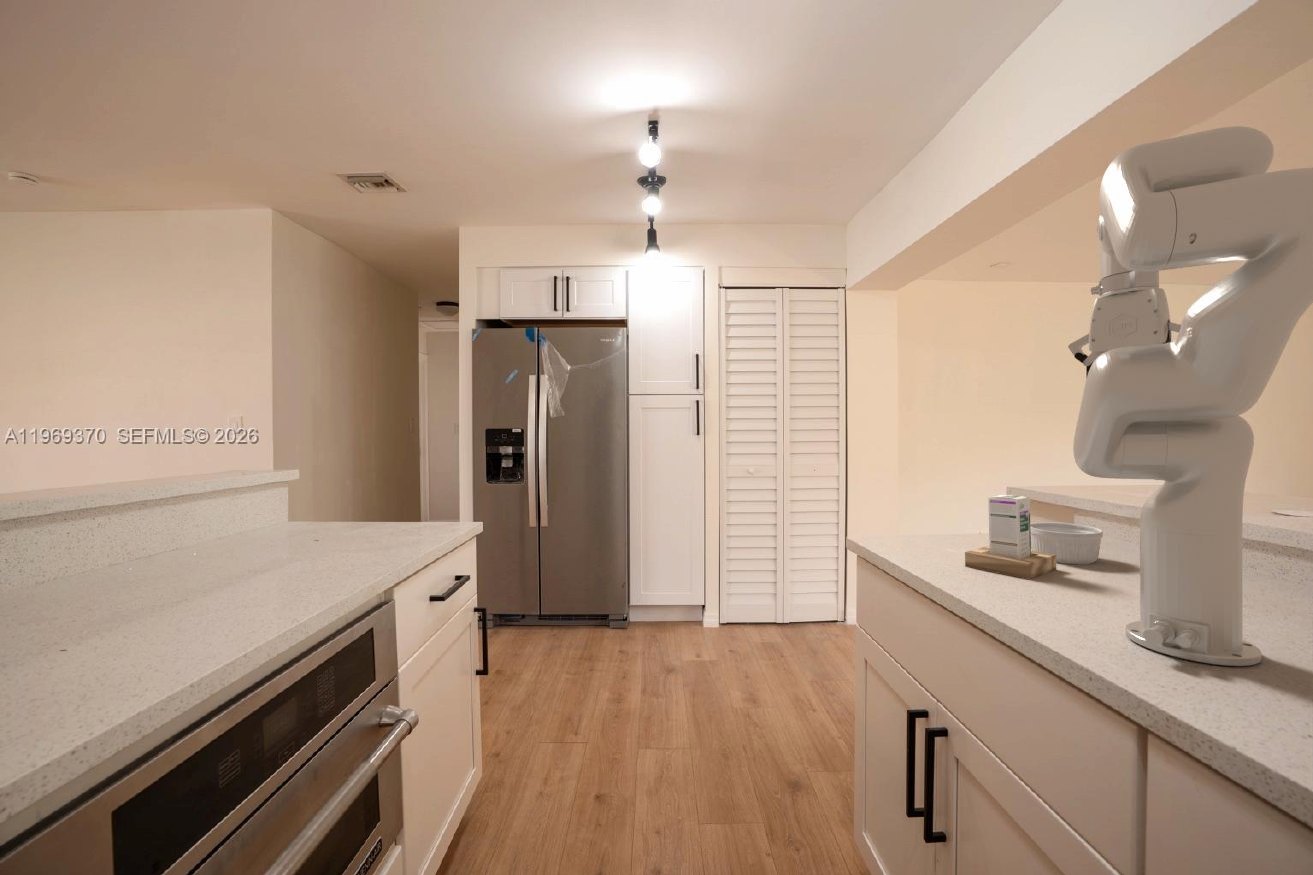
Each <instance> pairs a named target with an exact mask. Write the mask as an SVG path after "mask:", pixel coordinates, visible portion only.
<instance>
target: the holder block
mask: <svg viewBox="0 0 1313 875" xmlns="http://www.w3.org/2000/svg"><path fill="white" fill-rule="evenodd" d="M967 566H969V567H968V568H973V569H977V570H983V571H987V572H992V573H996V572H998V574H1002V575H1007V576H1012V577H1018V578H1022V579H1027V580H1031V579H1034V578H1037V577H1039V576H1042V575H1045V574H1048V573H1051V572H1053V571H1056V570H1057V562H1056V555H1054V554H1048V553H1042V552H1035V551H1032V550H1031V557H1029V558H1026V559H1023V560H1020V559H1015V558H1009V557H1003V556H998V555H992V554H990V545H987V546H984V547H979V548H976V549H972V550H967V551H964V567H967Z"/></svg>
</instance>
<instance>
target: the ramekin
mask: <svg viewBox="0 0 1313 875" xmlns="http://www.w3.org/2000/svg"><path fill="white" fill-rule="evenodd" d="M1030 528H1031V551H1035V552H1042V553H1048V554H1054V555H1056V563H1061V564H1067V565H1069V564H1070V565H1089V564H1094V563H1095V562H1096V561H1097V560H1098V559H1099V555H1100V549H1101V543H1102V538H1103V537H1104V536H1103V535H1104V534H1103V531H1102V530H1103V529H1100V528H1098V527H1093V526H1089V525H1082V524H1074V523H1065V522H1050V521H1049V522H1046V521H1045V522H1030Z"/></svg>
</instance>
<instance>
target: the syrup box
mask: <svg viewBox="0 0 1313 875" xmlns="http://www.w3.org/2000/svg"><path fill="white" fill-rule="evenodd" d="M1030 499H1031V498H1030V496H1026V495H1025V496H1024V495H1017V494H999V495H996V496H989V497H988V498H987V500H988V533H989V534H988V536H989V541H988V542H989V546H990V554H992V555H998V556H1003V557H1009V558H1015V559H1020V560H1023V559H1026V558H1029V557H1031V551H1032V550H1031V528H1030V524H1031V506H1030V505H1031V504H1030Z"/></svg>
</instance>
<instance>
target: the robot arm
mask: <svg viewBox="0 0 1313 875" xmlns="http://www.w3.org/2000/svg"><path fill="white" fill-rule="evenodd" d="M1274 153H1275V151H1274V144H1273V142H1272V140H1271V139H1270V137H1269V136H1268V135H1267V134H1265V133H1264V132H1263V131H1261V130H1259V129H1257V128H1253V127H1249V126H1241V125H1239V126H1238V125H1235V126H1227V127H1226V126H1225V127H1218V128H1212V129H1208V130H1202V131H1198V132H1194V133H1189V134H1184V135H1180V136H1175V137H1169V138H1165V139H1160V140H1156V141H1155V140H1154V141H1152V142H1146V143H1142V144H1139V145H1134V146H1131V147H1129V148H1128V149H1126V150H1124V151H1122V152H1121V153H1119V154H1118V155H1117V156H1116V157H1115V158H1114V159H1113V160H1112V161H1111V162H1110V164H1109V165H1108V167H1107V169H1106V170H1105V172H1104V174H1103V177H1102V179H1101V182H1100V187H1099V208H1100V209H1099V210H1100V213H1101V214H1100V215H1099V217H1098V221H1097V227H1096V228H1097V229H1096V232H1097V238H1098V240H1099V242H1100V280H1099V281H1098V282H1099V284H1098V285H1096V286H1093V287H1091V288H1090V294H1091V295H1099V297H1098V298H1095V299H1094V301H1093V306H1092V310H1091V316H1090V323H1089V332H1088V333H1087V334H1085V335H1083V336H1082V337H1080V338H1078V339H1077V340H1075V341H1073V342H1071V343H1069V344H1068V346H1067V348H1068V349H1069V351H1070V352H1071V354H1072V355H1073V357H1074V359H1076V360H1077V361H1079V362H1080V363H1081V364H1083V366H1084V367H1086V370H1085V371H1086V374H1085V375H1086V377H1085V378H1086V380H1085V383H1084V389H1083V394H1082V398H1081V403H1080V407H1079V411H1078V412H1079V413H1078V415H1077V416H1078V418H1077V421H1076V427H1075V431H1074V438H1073V448H1072V449H1073V450H1072V451H1073V457H1074V461H1075V462H1074V463H1076V465H1077V467H1078V468H1079V469H1080V470H1081V472H1083V473H1084V474H1086V475H1088V476H1090V477H1094V478H1098V479H1121V480H1122V479H1123V480H1125V479H1126V480H1155V481H1164V483H1163V484H1162V485H1161V486H1160V487H1159V488H1157V489H1156V490H1155V491H1154V492H1153V493H1152V494H1151V495H1150V496H1149V497H1148V498H1147V499H1146V500H1145V502H1144V503H1143V505H1142V507H1141V509H1140V513H1139V514H1140V515H1139V580H1140V581H1139V582H1140V584H1139V586H1140V587H1139V590H1140V591H1139V594H1140V596H1139V597H1140V598H1139V602H1140V604H1139V605H1140V606H1139V607H1140V609H1139V610H1140V611H1139V612H1140V614H1139V616H1140V617H1139V618H1140V620H1136V621H1131V622H1128V623H1127V624H1126V625H1125V636H1126V637H1128V639H1130V640H1131V641H1133V642H1134V643H1136V644H1138V645H1140V646H1143V647H1145V648H1146V649H1148V650H1152V651H1154V652H1157V653H1161V654H1165V655H1168V656H1171V657H1175V658H1179V659H1182V660H1183V659H1184V660H1186V661H1187V660H1189V661H1193V662H1197V663H1203V664H1211V665H1218V666H1219V665H1220V666H1229V667H1232V666H1233V667H1246V666H1247V667H1248V666H1253V665H1256V664H1259V663H1260V662H1262V651H1261V649H1260V648H1259V647H1257V646H1256V645H1255V644H1253V643H1251V642H1249V641H1247V640H1245V639H1243V637H1244V636H1243V627H1244V626H1243V510H1244V508H1243V507H1244V506H1243V505H1244V496H1245V493H1244V492H1245V488H1246V481H1247V477H1248V472H1249V467H1250V464H1251V459H1252V456H1253V452H1254V446H1255V441H1254V440H1255V439H1254V438H1255V436H1254V431H1253V429H1252V427H1251V425H1250V424H1249V422H1248V421H1247V420H1246V419H1245V418H1243V417H1242V416H1241V415H1243V414H1244V413H1246V412H1248V411H1249V410H1251V409H1252V408H1253V407H1254V405H1256V404H1257V403H1258V401H1259V400H1260V398H1261V396H1262V395H1263V393H1264V391H1265V389H1266V388H1267V386H1268V383H1269V381H1270V379H1271V377H1272V376H1273V373H1274V371H1275V369H1276V367H1277V365H1278V363H1279V361H1280V359H1281V357H1282V355H1283V352H1284V350H1285V348H1286V346H1287V344H1288V342H1289V339H1291V338H1290V337H1291V335H1292V333H1293V331H1294V329H1295V327H1296V325H1297V323H1298V322H1299V320H1300V319H1301V317H1302V316H1303V315H1304V314H1305V312H1306V311H1307V310H1308V308H1310V306H1311V305H1313V167H1304V168H1303V167H1302V168H1301V167H1300V168H1290V169H1281V170H1276V171H1275V170H1274V171H1269V168H1270V166H1271V164H1272V163H1273V159H1274ZM1267 171H1268V172H1267ZM1240 261H1244V262H1243V264H1242V265H1241V266H1240V267H1239V268H1237V269H1236V270H1235V271H1232V272H1231V273H1230V274H1228V275H1226V276H1225V277H1222V279H1220V280H1218V281H1217V282H1216V283H1215V284H1213V285H1212V286H1211V287H1209V288H1208V289H1207V290H1206V291H1205V292H1204V293H1202V295H1200V296H1199V297H1198V298H1197V299H1196V300H1195V301H1194V302H1193V303H1192V304H1191V305H1190V306H1189V307H1188V308H1187V310H1186V311H1185V314H1184V316H1183V318H1182V321H1181V324H1180V323H1176V322H1171V316H1170V308H1169V304H1168V299H1167V295H1166V292H1165V289H1164V288H1161V287H1160V271H1166V270H1167V271H1169V270H1175V269H1184V268H1186V269H1187V268H1192V267H1193V268H1194V267H1202V266H1210V265H1217V264H1225V263H1231V262H1232V263H1233V262H1240ZM1172 332H1175V333H1178V335H1177V337H1176V338H1175V339H1174V340H1172ZM1086 345H1088V350H1089V351H1090V352H1091V353H1090V354H1089V355H1087V354H1085V353H1084V351H1083V350H1082V349H1083V347H1084V346H1086Z"/></svg>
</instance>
